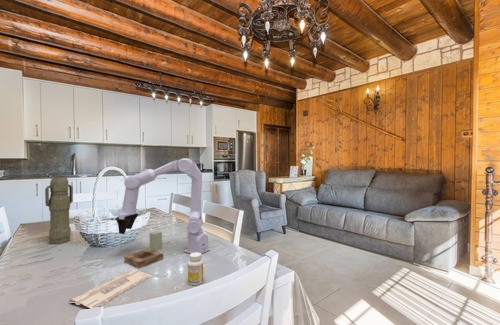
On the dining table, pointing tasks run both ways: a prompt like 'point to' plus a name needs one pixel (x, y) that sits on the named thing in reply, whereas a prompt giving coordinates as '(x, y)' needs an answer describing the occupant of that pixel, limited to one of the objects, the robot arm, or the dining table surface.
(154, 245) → the peg
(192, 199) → the robot arm
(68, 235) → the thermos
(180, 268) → the dining table surface
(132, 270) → the newspaper
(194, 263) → the supplement bottle
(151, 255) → the socket block
